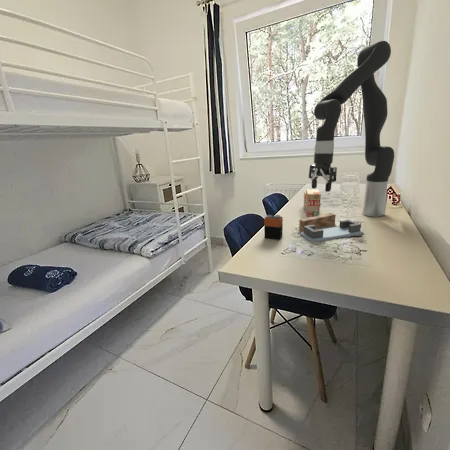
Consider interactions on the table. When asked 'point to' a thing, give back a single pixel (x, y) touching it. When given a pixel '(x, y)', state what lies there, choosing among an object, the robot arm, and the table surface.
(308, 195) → the stack of blocks
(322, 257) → the table surface
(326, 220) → the slat
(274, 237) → the battery
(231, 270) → the table surface
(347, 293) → the table surface
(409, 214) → the table surface
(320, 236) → the cap board
